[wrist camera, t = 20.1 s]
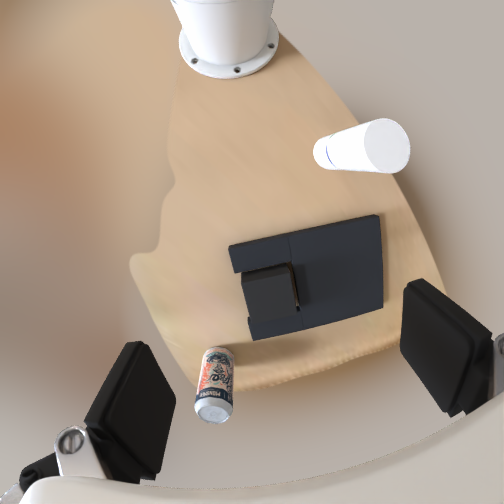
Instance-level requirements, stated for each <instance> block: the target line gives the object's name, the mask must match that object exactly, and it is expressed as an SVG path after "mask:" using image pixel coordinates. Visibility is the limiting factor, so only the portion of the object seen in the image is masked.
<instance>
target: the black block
mask: <svg viewBox="0 0 504 504" xmlns="http://www.w3.org/2000/svg"><path fill="white" fill-rule="evenodd" d="M241 285H242V289H243V293H244V296H245V300H246V304H247V308H248V312H249V315H250V319H251V323H252V324H256V323H261V322H265V321H270V320H275V319H279V318H284V317H288V316H293V315H297V309H296V303H295V297H294V292H293V286H292V280H291V275H290V271H289V269H288V267H287V264H286V263H284V264H279V265H275V266H270V267H266V268H261V269H256V270H252V271H247V272H243V273H241Z"/></svg>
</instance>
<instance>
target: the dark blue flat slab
mask: <svg viewBox="0 0 504 504" xmlns="http://www.w3.org/2000/svg"><path fill="white" fill-rule="evenodd" d="M228 250H229V254H230V258H231V262H232V266H233V269H234V273H239V272H244V271H249V270H253V269H258V268H262V267H267V266H271V265H276V264H280V263H285V262H289V261H291V263H292V269H293V275H294V280H295V286H296V292H297V297H298V303H299V306H296V309H297V315H293V316H288V317H284V318H279V319H275V320H270V321H265V322H261V323H256V324H252V323H251V319H250V317H248V325H249V329H250V332H251V336H252V339H253V341H255V340H260V339H265V338H270V337H275V336H279V335H284V334H288V333H293V332H297V331H301V330H305V329H309V328H314V327H318V326H321V325H325V324H329V323H333V322H337V321H340V320H344V319H348V318H351V317H355V316H358V315H361V314H365V313H368V312H371V311H375V310H378V309H381V308H383V261H382V244H381V231H380V220H379V216H377V215H369V216H364V217H360V218H355V219H350V220H345V221H341V222H336V223H331V224H327V225H322V226H317V227H313V228H308V229H303V230H299V231H294V232H290V233H285V234H280V235H276V236H271V237H267V238H262V239H257V240H253V241H248V242H244V243H240V244H235V245H231V246H229V248H228Z"/></svg>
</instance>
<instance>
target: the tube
mask: <svg viewBox="0 0 504 504" xmlns="http://www.w3.org/2000/svg"><path fill="white" fill-rule="evenodd" d="M409 156H410V143H409V139H408V136H407V134H406V132H405V131H404V130H403V128H402V127H401V126H400V125H399V124H398V123H397V122H395V121H393V120H390V119H386V118H381V119H376V120H373V121H370V122H367V123H364V124H361V125H357V126H354V127H351V128H348V129H345V130H343V131H340V132H337V133H334V134H331V135H328V136H325V137H323V138H321V139H319V140H318V141H317V142H316V144H315V146H314V157H315V160H316V162H317V163H318V164H319V165H320V166H321V167H323V168H325V169H331V170H351V171H366V172H379V173H395V172H398V171H400V170H401V169H402V168H404V167H405V165H406V164H407V162H408V160H409Z"/></svg>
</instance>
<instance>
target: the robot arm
mask: <svg viewBox="0 0 504 504" xmlns="http://www.w3.org/2000/svg"><path fill="white" fill-rule="evenodd" d="M171 2H172V4H173V7H174V9H175V11H176V13H177V15H178V17H179V19H180V22H181V23H182V26H183V28H182V31H181V33H180V37H179V48H180V51H181V54H182V56H183V58H184V60H185V61H186V62H187V63H188V65H189V66H190V67H192V68H193V69H194V70H195V71H197V72H199V73H201V74H203V75H206V76H209V77H212V78H220V79H233V78H239V77H243V76H246V75H249V74H252V73H254V72H256V71H258V70H260V69H261V68H262V67H264V66H265V65H266V64H267V63H268V62H269V61H270V60H271V59H272V57H273V56H274V54H275V52H276V49H277V47H278V42H279V32H278V29H277V26H276V24H275V22H274V21H273V19H272V18H271V13H272V8H273V3H274V0H171ZM269 47H271V48H272V49H271V48H269ZM195 62H197V63H196V64H194V63H195ZM236 71H240V72H239V73H236ZM491 337H492V332H490V331H489V330H488V329H487V328H486V327H485V326H483V325H482V324H481V323H480V322H478V321H477V320H476V319H475V318H474V317H472V316H471V315H470V314H469V313H468V312H466V311H465V310H464V309H463V308H461V307H460V306H459V305H457V304H456V303H455V302H454V301H452V300H451V299H450V298H448V297H447V296H446V295H444V294H443V293H442V292H441V291H439V290H438V289H437V288H435V287H434V286H432V285H431V284H430V283H428V282H427V281H426V280H424V279H422V278H421V279H417V280H414V281H411V282H409V283H408V284H407V287H406V288H404V292H403V313H402V327H401V338H400V351H401V353H402V355H403V356H404V358H405V359H406V360H407V362H408V363H409V364H410V366H411V367H412V369H413V370H414V371H415V373H416V374H417V375H418V377H419V378H420V380H421V381H422V383H423V384H424V385H425V387H426V388H427V389H428V391H429V393H430V394H431V395H432V397H433V398H434V400H435V401H436V403H437V404H438V406H439V407H440V409H441V410H442V411H443V412H447V413H448V414H449V416H450V417H453V416H455V415H456V414H458V413H460V412H461V411H462V410H463V411H464V412H465V414H466V416H465V417H463V418H461V419H460V420H458V421H456V422H454V423H453V424H451V425H449V426H447V427H446V428H444V429H442V430H440V431H438V432H436V433H434V434H432V435H431V436H429V437H427V438H425V439H423V440H420V441H419V442H416V443H414V444H412V445H410V446H407V447H405V448H403V449H401V450H398V451H396V452H393V453H391V454H388V455H386V456H383V457H381V458H378V459H375V460H372V461H369V462H366V463H363V464H360V465H357V466H354V467H351V468H348V469H344V470H341V471H337V472H333V473H330V474H326V475H321V476H317V477H312V478H308V479H303V480H298V481H292V482H286V483H280V484H273V485H265V486H257V487H244V488H228V489H183V488H168V487H157V486H147V485H140V479H145V480H155V478H156V474H158V473H159V472H160V470H161V466H162V462H163V457H164V452H165V448H166V443H167V439H168V434H169V430H170V426H171V422H172V417H173V413H174V409H175V405H176V397H175V394H174V392H173V391H172V389H171V387H170V385H169V384H168V382H167V380H166V378H165V376H164V375H163V373H162V371H161V369H160V367H159V366H158V363H157V361H156V359H155V357H154V355H153V353H152V351H151V349H150V347H149V346H148V345H147V344H144V343H143V342H142V341H135V342H128V343H126V344H125V346H124V348H123V350H122V351H121V353H120V355H119V356H118V358H117V360H116V362H115V363H114V365H113V367H112V369H111V371H110V372H109V374H108V376H107V378H106V380H105V381H104V383H103V385H102V387H101V389H100V391H99V393H98V395H97V396H96V398H95V400H94V402H93V404H92V406H91V408H90V410H89V412H88V413H87V415H86V417H85V420H84V422H85V423H86V425H87V427H86V429H84V428H83V427H81V426H71V427H67V428H66V429H64V430H63V431H61V432H60V433H59V434H58V436H57V438H56V440H55V443H54V447H55V452H54V453H52V454H51V455H49V456H46V457H45V458H43V459H40V460H38V461H36V462H35V463H32V464H30V465H29V466H27V467H25V468H24V469H23V470H22V472H21V475H20V479H19V481H20V485H19V484H18V483H16V484H15V485H14V486H13V487H12V488H11V489H9V490H8V491H7V492H6V493H5V494H3V495H2V496H1V497H0V504H504V333H503V334H501V335H499V336H498V337H497V338H496V339H495V341H493V340H492V339H491Z"/></svg>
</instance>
